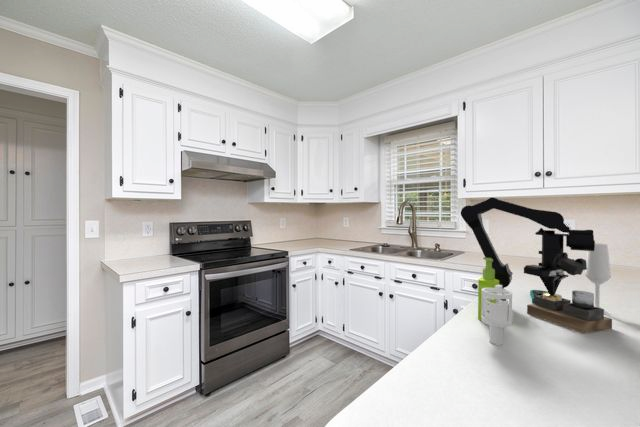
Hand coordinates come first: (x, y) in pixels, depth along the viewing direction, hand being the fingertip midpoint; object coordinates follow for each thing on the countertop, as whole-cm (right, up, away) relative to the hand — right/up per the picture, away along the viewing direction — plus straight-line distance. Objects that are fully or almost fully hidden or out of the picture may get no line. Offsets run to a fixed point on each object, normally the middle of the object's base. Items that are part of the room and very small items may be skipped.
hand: (552, 294), depth 98 cm
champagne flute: (+19, -7, +4) cm, 21 cm away
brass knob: (0, -4, 0) cm, 4 cm away
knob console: (+1, -7, -4) cm, 8 cm away
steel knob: (+3, -1, -9) cm, 9 cm away
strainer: (-31, -7, -20) cm, 38 cm away
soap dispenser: (-23, -7, -3) cm, 25 cm away
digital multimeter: (+10, -8, +17) cm, 21 cm away
